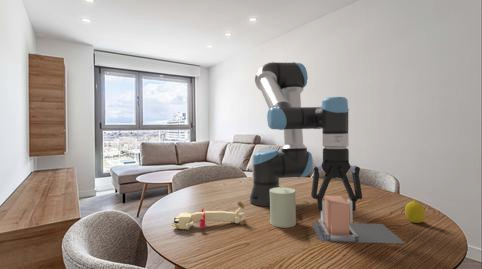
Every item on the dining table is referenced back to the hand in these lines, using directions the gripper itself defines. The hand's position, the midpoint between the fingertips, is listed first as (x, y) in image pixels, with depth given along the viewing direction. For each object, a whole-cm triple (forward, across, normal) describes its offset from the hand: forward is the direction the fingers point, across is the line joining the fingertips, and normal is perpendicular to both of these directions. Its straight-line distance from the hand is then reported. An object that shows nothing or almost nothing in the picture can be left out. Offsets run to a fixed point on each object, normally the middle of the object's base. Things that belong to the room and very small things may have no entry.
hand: (336, 220), depth 76 cm
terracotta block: (+3, 0, 0) cm, 3 cm away
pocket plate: (+4, +5, 0) cm, 6 cm away
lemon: (+4, +28, +10) cm, 30 cm away
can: (+4, -16, +8) cm, 19 cm away
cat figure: (+5, -42, +5) cm, 42 cm away
